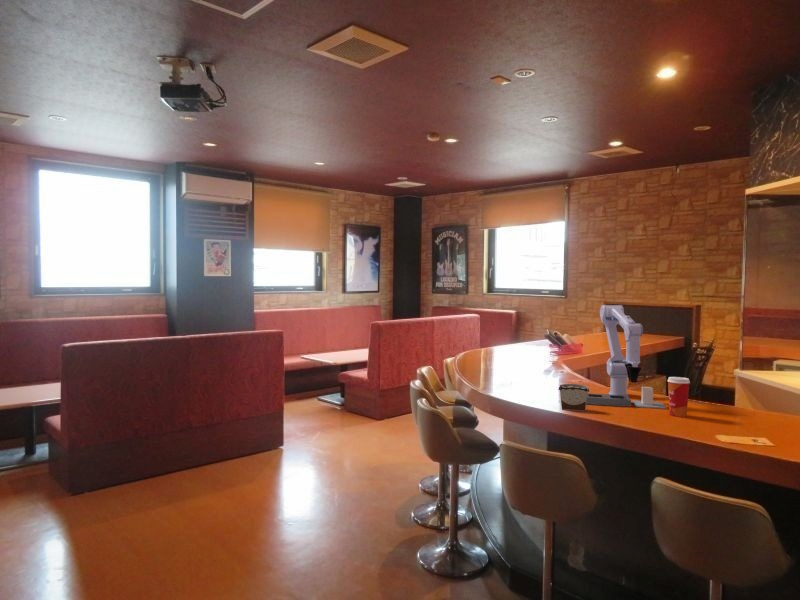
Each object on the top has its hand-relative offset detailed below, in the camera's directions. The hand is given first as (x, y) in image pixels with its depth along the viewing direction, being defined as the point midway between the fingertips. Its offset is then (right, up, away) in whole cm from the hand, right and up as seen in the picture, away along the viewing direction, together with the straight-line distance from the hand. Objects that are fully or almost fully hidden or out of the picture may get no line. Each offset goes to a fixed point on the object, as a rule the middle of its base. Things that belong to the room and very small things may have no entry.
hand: (632, 381), depth 241 cm
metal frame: (-13, -9, -2) cm, 16 cm away
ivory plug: (+4, -9, -6) cm, 11 cm away
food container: (-31, -10, -14) cm, 35 cm away
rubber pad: (+4, -10, -6) cm, 12 cm away
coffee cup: (+8, -10, -25) cm, 28 cm away
